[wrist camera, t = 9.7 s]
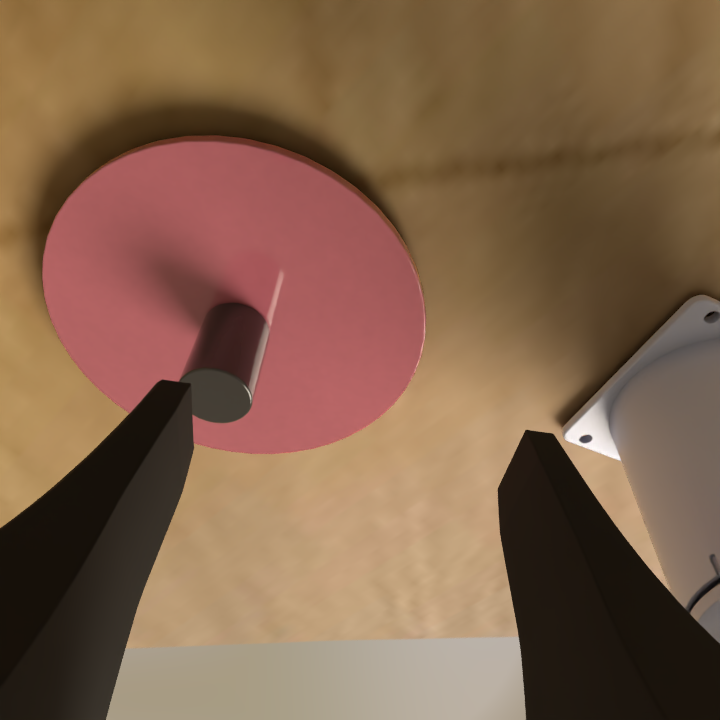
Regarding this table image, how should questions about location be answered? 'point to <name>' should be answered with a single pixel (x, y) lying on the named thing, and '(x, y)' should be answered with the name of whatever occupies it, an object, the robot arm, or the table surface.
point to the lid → (236, 291)
